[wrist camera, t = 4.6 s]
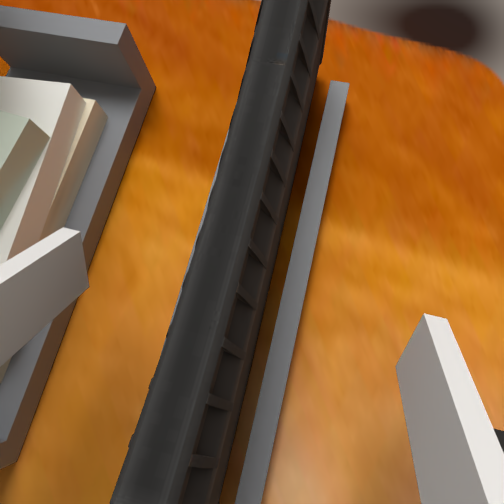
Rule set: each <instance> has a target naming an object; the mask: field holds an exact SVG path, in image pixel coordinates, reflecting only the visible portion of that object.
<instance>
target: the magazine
mask: <svg viewBox="0 0 504 504" xmlns="http://www.w3.org/2000/svg"><path fill="white" fill-rule="evenodd" d="M330 4H331V0H262V1H261V5H260V9H259V13H258V18H257V22H256V26H255V31H254V32H255V33H254V37H253V40H252V43H251V47H250V52H249V56H248V60H247V64H246V70H245V72H244V75H243V79H242V83H241V87H240V91H239V96H238V100H237V104H236V106H235V109H234V112H233V115H232V119H231V122H230V127H229V132H228V136H227V141H226V143H225V146H224V149H223V151H222V155H221V158H220V163H219V168H218V172H217V177H216V181H215V183H214V185H213V188H212V190H211V194H210V197H209V202H208V207H207V211H206V215H205V218H204V221H203V225H202V228H201V230H200V232H199V234H198V237H197V241H196V245H195V251H194V254H193V257H192V260H191V263H190V267H189V270H188V272H187V274H186V276H185V279H184V282H183V285H182V292H181V295H180V298H179V301H178V304H177V308H176V311H175V314H174V317H173V320H172V323H171V325H170V326H169V329H168V332H167V335H166V341H165V344H164V347H163V350H162V353H161V356H160V359H159V362H158V365H157V368H156V371H155V374H154V377H153V378H152V379H151V382H150V385H149V392H148V395H147V397H146V400H145V403H144V406H143V409H142V412H141V415H140V418H139V421H138V424H137V426H136V429H135V432H134V434H133V435H132V437H131V440H130V443H129V445H128V447H129V449H128V452H127V455H126V458H125V461H124V464H123V466H122V469H121V472H120V475H119V478H118V481H117V483H116V486H115V489H114V492H113V495H112V498H111V500H110V504H219V499H220V494H221V490H222V486H223V482H224V478H225V473H226V469H227V465H228V461H229V457H230V453H231V448H232V444H233V440H234V436H235V431H236V427H237V423H238V419H239V415H240V410H241V406H242V402H243V398H244V394H245V389H246V385H247V381H248V377H249V373H250V368H251V364H252V360H253V356H254V351H255V347H256V343H257V339H258V334H259V330H260V326H261V321H262V317H263V313H264V308H265V304H266V300H267V296H268V291H269V287H270V283H271V278H272V274H273V269H274V265H275V261H276V256H277V252H278V248H279V243H280V239H281V234H282V230H283V226H284V221H285V217H286V212H287V208H288V204H289V199H290V195H291V190H292V186H293V181H294V177H295V172H296V168H297V163H298V159H299V154H300V150H301V145H302V141H303V136H304V132H305V127H306V123H307V118H308V114H309V109H310V105H311V100H312V96H313V91H314V87H315V82H316V78H317V73H318V69H319V65H320V64H321V63H322V58H323V52H324V45H325V38H326V31H327V25H328V18H329V11H330Z"/></svg>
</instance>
